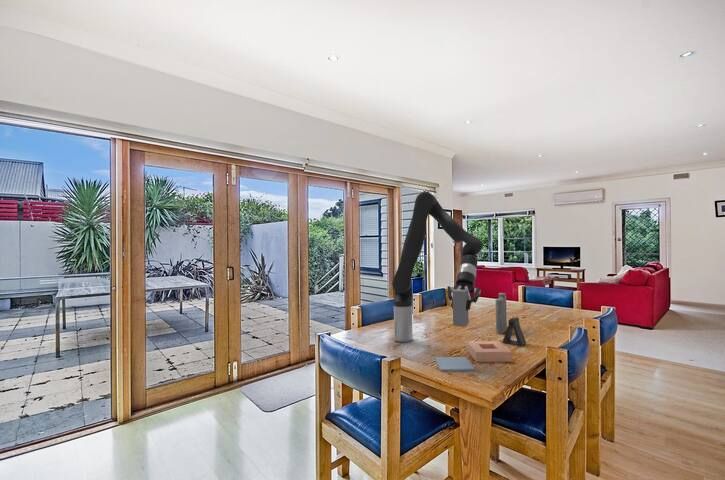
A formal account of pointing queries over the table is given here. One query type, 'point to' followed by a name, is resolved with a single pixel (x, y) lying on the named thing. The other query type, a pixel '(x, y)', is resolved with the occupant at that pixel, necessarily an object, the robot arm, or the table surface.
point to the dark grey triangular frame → (518, 332)
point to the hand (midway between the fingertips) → (460, 308)
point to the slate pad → (454, 364)
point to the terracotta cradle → (489, 351)
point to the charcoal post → (460, 307)
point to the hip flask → (501, 314)
